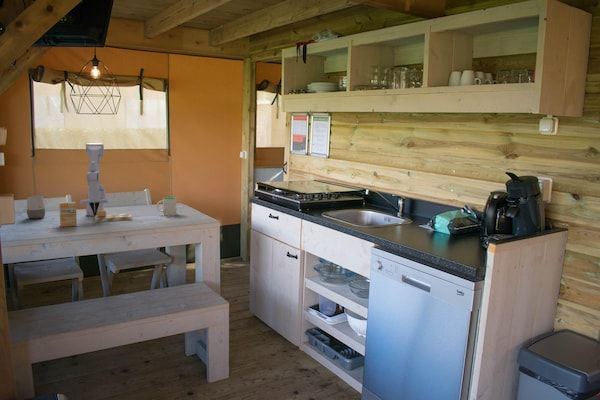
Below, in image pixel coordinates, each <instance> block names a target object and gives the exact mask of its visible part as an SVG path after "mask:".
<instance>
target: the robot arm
mask: <svg viewBox="0 0 600 400" xmlns="http://www.w3.org/2000/svg"><path fill="white" fill-rule="evenodd" d="M104 148H105V146H104V143H103V142H100V143H98V142H97V143H95V142H93V143H90V142H87V143H86V144H85V152H86V156H87V158H89V159H90V162H89V163H88V168H87V169H88V171H87V173H86V181H87V187H88V188H87V199H80V205H82V204H85V209H86V211H85V212H86V214H85V216H93V217H95V216H96V215H98V210H105V209H104V204H108V203H109V199H108V198H106V188H105V186H103V185H102V184H101V172H100V171H101V167H100V166H101V165H100V163H101V159H102V158H104V156H105V149H104ZM106 215H108V213H107V212H106Z"/></svg>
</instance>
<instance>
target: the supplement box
mask: <svg viewBox="0 0 600 400" xmlns="http://www.w3.org/2000/svg"><path fill="white" fill-rule="evenodd" d="M58 204H59V205H58V206H59V224H60V227H73V226H74V227H77V226H78V222H77V221H78V219H77V218H78V217H77V202H76V201H59V203H58Z"/></svg>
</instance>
